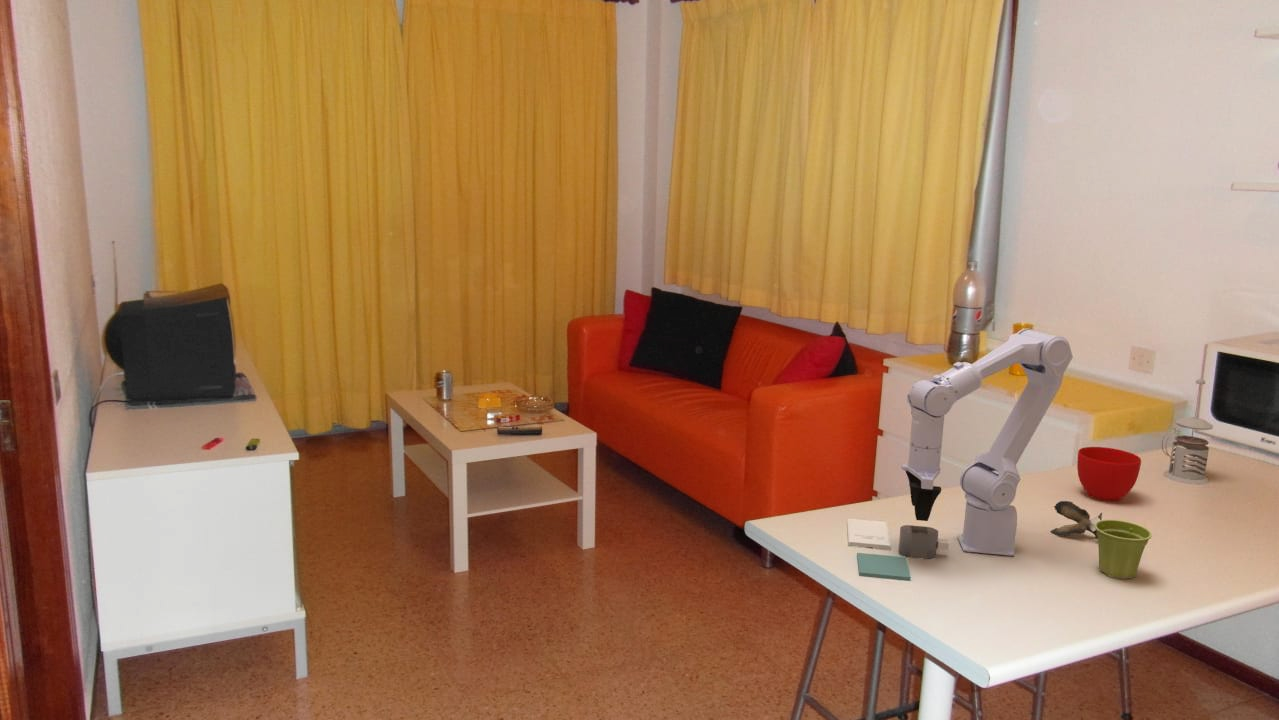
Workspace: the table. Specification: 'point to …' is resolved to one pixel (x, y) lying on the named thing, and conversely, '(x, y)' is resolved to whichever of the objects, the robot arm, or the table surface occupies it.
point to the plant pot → (1120, 547)
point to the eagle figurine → (1075, 519)
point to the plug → (920, 542)
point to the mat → (883, 566)
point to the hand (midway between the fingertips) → (919, 512)
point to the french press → (1189, 451)
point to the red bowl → (1107, 472)
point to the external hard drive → (868, 534)
